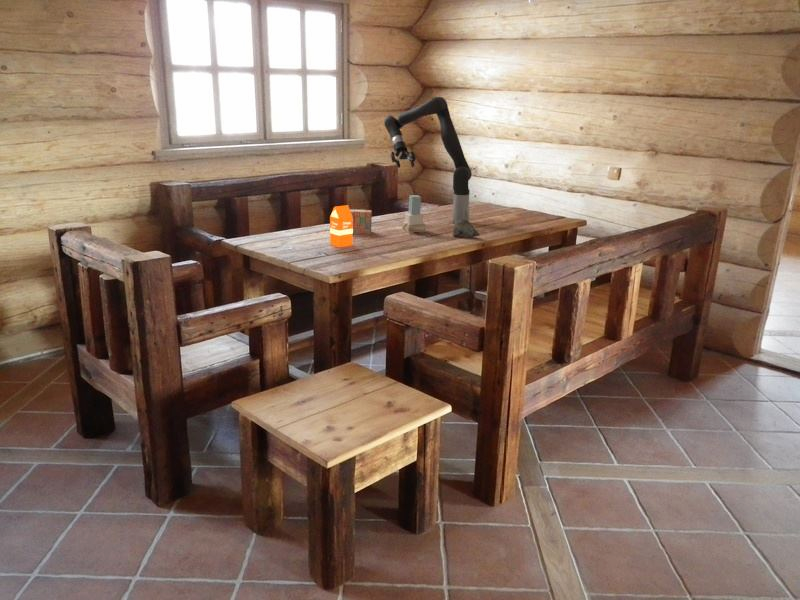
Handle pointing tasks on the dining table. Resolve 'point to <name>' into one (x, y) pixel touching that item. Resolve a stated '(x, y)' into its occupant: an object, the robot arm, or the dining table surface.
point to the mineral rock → (464, 229)
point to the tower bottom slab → (413, 227)
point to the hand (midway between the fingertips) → (406, 166)
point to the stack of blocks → (361, 221)
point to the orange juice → (341, 227)
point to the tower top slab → (413, 219)
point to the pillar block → (414, 204)
